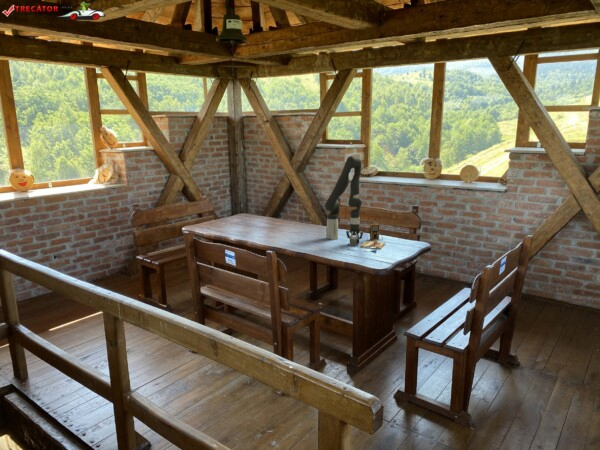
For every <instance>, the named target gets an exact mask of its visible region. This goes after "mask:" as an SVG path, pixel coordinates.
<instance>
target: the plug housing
mask: <svg viewBox="0 0 600 450" xmlns="http://www.w3.org/2000/svg"><path fill="white" fill-rule="evenodd" d="M358 245H359V244H357V237H356V236H352V238H351V239H349V246H350V247H357V246H358Z"/></svg>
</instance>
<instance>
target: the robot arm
mask: <svg viewBox="0 0 600 450" xmlns="http://www.w3.org/2000/svg"><path fill="white" fill-rule="evenodd" d="M352 169H353V170H354V171H353V177H352V179H351V181H350V176H349V174H350V172H351V171H352ZM361 171H362V158H361V157H359V156H356V155H355V156H354V155H352V156H351V155H349V156H348V157H347V158H346V161H345V162H344V166H343V168H342V171H341V172H340V175H339V178H338V179H337V181H336V183H335V185H334V188H333V189H332V192H331V194H330V195H329V196H328V198H327V200H326V201H325V205H324V206H325V210H326V211H328V212H329V213H328V214H327V215H326V226H327V227H326V229H325V232H326V233H325V235H326V236H325V239H328V240H338V238H339V216H340V208H341V207H340V202H339V200H338V199H339V198H340V197H341V196H342V195H343V194H344V193H345V191H346V190H347V188H348V186H349V184H350V186H349V187H350V194H349V198H348V204H347V205H348V206H349V207H351V208H354V209H351V210H350V220H349V230H348V229H347V230H346V231H345V232H346V238H348V239H349V240H350V239H351V238H352V237H357V244H358V245H359V244H360V240H362V238H363V236H364V235H363V234H364V231H361V230H360V226H361V225H360V224H361V223H360V222H361V220H360V211H361V207H362V204H363V200H362V198H360V197H354V196H357V195H360V177H361ZM359 234H360V235H359Z"/></svg>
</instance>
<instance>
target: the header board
mask: <svg viewBox="0 0 600 450" xmlns="http://www.w3.org/2000/svg"><path fill="white" fill-rule="evenodd" d="M385 246H386V242H379V241H378V240H377V239H376V240H373V241H369V240H368V241H366V240H365V241H364V242H363V243H362V244H361V245H360V248H362V247H376V248H377V249H376V250H382V249H383V248H384V247H385Z"/></svg>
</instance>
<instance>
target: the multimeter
mask: <svg viewBox="0 0 600 450" xmlns="http://www.w3.org/2000/svg"><path fill="white" fill-rule="evenodd" d="M371 217H372V218H374V220H373V223H370V224H369V240H368V241H369V242H371V241H375V240H376V239H378V240H380V234H381V236H383V234H382V233H380V232H382V231H381V230H382V229H381V228H380V223H377V222H376V220H377V218H376V217H379V219H381V217H380V216H379V215H377V216H373V215H372V216H370V217H368V218H367V223H368V222H369V218H371ZM381 240H384V239H383V237H381Z"/></svg>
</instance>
